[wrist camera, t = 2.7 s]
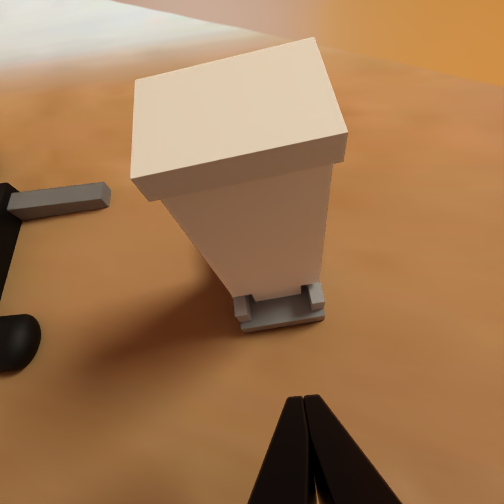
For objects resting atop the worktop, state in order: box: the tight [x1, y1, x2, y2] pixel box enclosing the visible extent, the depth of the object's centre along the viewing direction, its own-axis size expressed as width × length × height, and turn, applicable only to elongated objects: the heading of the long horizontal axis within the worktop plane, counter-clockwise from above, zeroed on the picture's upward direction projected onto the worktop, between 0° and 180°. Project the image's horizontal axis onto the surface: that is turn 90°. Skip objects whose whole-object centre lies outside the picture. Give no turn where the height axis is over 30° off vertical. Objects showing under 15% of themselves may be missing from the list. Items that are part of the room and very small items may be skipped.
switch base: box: [231, 280, 325, 333], centre depth 21 cm, size 12×5×3 cm, turn 7°
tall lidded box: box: [130, 37, 348, 302], centre depth 14 cm, size 4×5×13 cm
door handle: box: [0, 182, 111, 372], centre depth 25 cm, size 3×20×16 cm
